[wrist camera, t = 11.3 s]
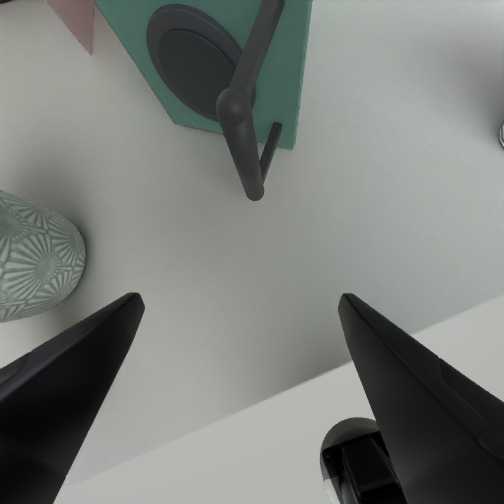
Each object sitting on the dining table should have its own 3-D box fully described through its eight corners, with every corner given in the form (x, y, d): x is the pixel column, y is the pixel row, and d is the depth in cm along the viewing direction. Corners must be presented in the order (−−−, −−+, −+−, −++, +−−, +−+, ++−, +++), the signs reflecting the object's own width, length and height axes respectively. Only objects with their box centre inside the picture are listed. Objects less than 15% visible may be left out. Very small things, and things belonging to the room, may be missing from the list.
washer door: (270, 215, 20) (259, 117, 8) (150, 181, 22) (3, 66, 10) (295, 143, 21) (318, -45, 9) (176, 117, 23) (67, -59, 11)
